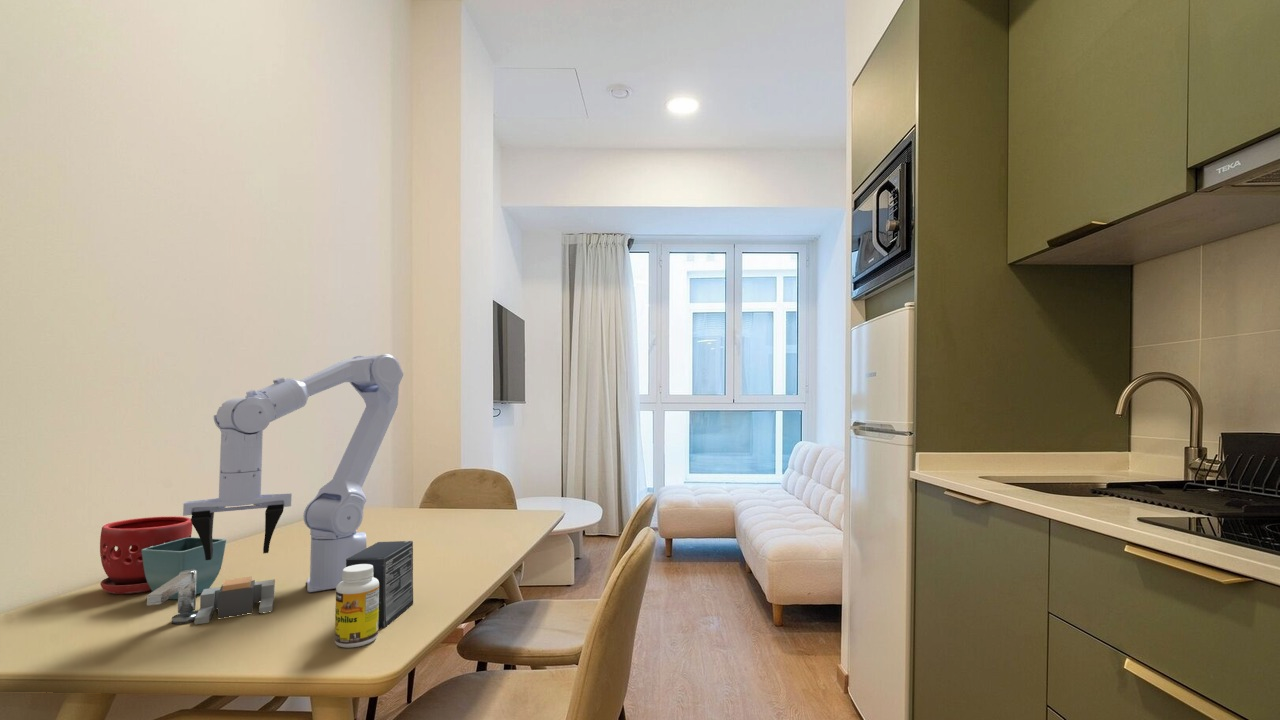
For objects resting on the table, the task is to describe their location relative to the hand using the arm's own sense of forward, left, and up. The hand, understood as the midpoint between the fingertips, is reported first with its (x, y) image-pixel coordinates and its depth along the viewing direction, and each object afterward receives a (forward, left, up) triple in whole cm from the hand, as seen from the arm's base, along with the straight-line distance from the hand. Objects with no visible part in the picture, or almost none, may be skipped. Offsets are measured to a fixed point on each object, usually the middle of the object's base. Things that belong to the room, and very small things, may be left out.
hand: (238, 555), depth 95 cm
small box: (-20, +14, -9) cm, 26 cm away
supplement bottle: (-16, +23, -9) cm, 29 cm away
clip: (+8, +5, -8) cm, 12 cm away
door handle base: (+6, 0, -9) cm, 11 cm away
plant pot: (+16, -25, -9) cm, 31 cm away
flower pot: (+9, -15, -9) cm, 20 cm away
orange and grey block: (0, 0, -9) cm, 9 cm away
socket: (0, 0, -9) cm, 9 cm away
